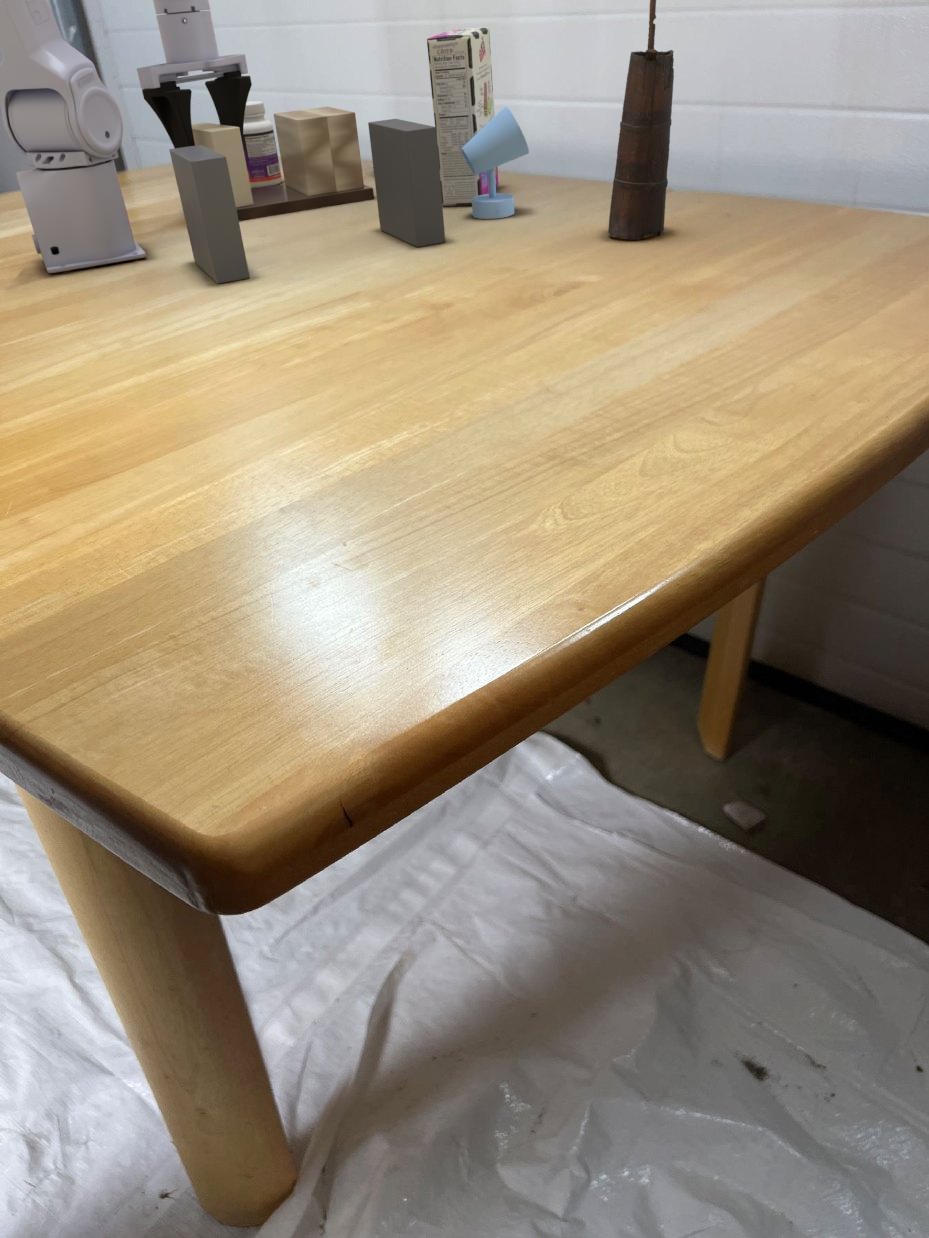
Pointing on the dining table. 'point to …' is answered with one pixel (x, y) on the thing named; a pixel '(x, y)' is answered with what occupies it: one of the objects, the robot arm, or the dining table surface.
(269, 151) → the pill bottle
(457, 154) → the candy bar box
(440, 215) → the grey books
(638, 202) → the butter churn
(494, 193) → the spotlight
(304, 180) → the shelf board
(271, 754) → the dining table surface
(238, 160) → the cream book
